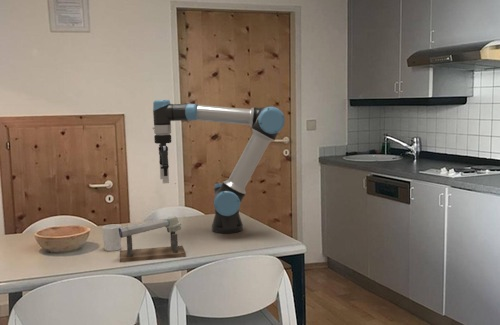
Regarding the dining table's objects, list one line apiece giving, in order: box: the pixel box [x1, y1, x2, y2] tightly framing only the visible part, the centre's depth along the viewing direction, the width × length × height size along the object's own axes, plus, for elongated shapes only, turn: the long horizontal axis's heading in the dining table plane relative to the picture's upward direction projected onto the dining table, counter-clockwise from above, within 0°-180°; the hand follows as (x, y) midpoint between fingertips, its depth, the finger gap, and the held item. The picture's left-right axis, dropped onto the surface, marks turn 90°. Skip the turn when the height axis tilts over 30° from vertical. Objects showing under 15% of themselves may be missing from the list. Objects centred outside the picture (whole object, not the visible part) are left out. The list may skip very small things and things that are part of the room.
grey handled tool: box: [119, 215, 182, 239], centre depth 225 cm, size 5×7×25 cm
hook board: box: [119, 231, 187, 263], centre depth 226 cm, size 26×12×9 cm, turn 103°
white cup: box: [101, 223, 122, 252], centre depth 236 cm, size 8×8×10 cm
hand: (164, 181), depth 250 cm, fingers open, 13 cm apart
